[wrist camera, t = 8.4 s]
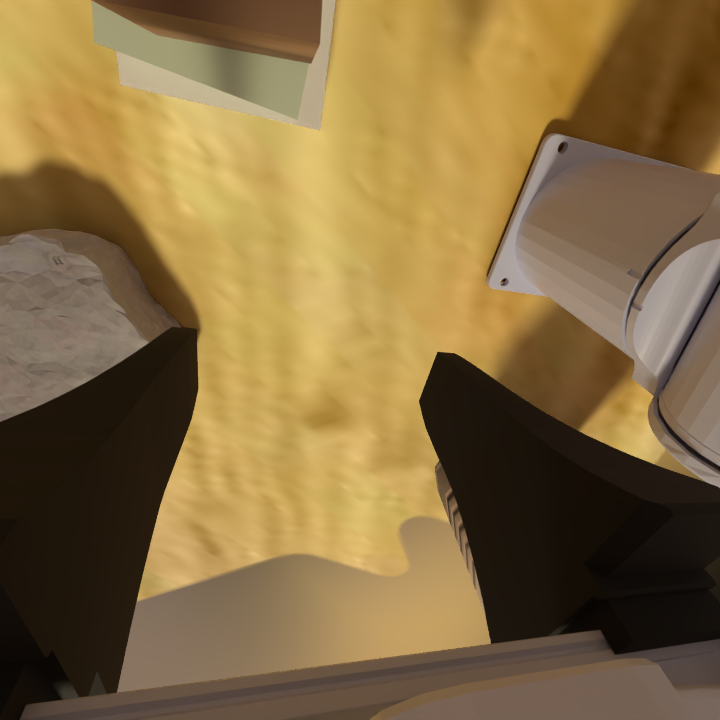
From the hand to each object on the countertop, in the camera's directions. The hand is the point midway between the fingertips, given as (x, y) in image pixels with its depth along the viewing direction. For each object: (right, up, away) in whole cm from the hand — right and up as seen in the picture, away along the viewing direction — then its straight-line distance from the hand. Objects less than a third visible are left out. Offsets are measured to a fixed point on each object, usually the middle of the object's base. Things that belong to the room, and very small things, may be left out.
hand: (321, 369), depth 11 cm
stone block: (-15, +3, +9) cm, 18 cm away
